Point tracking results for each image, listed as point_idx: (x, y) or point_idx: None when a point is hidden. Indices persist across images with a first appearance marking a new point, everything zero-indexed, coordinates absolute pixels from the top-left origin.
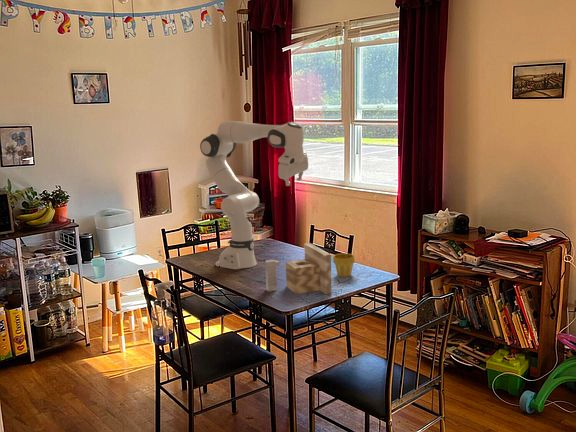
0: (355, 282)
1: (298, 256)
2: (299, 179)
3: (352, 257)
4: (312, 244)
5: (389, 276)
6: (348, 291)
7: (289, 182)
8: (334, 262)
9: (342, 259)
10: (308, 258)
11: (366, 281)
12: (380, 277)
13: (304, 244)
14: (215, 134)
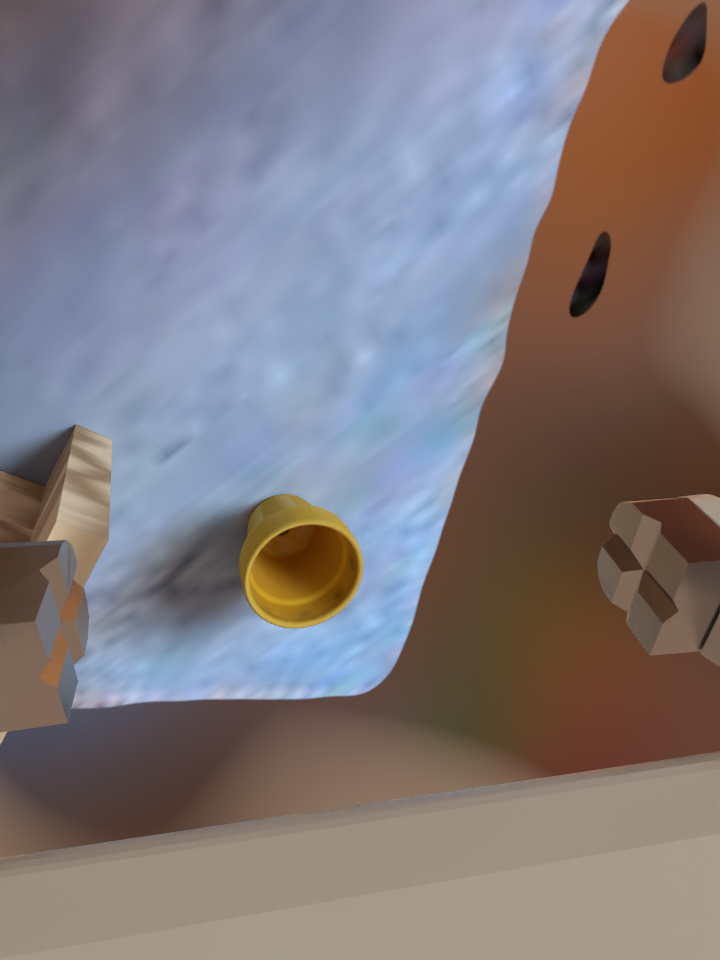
0: (213, 632)
1: (463, 38)
2: (615, 591)
3: (308, 625)
4: (83, 582)
5: (370, 669)
6: (80, 694)
7: (10, 725)
8: (247, 540)
9: (251, 606)
10: (34, 539)
11: (256, 653)
12: (339, 655)
13: (57, 519)
14: None
